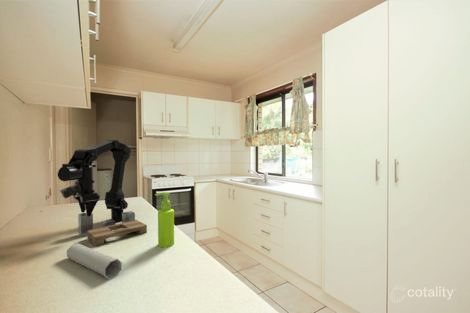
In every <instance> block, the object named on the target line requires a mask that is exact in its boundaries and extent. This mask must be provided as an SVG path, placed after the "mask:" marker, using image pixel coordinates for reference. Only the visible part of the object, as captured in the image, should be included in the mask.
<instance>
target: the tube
mask: <svg viewBox="0 0 470 313" xmlns="http://www.w3.org/2000/svg"><path fill="white" fill-rule="evenodd" d="M66 257H67V258H68V259H69V260H71V261H73V262H76V263H77V264H79V265H81V266H83V267H85V268H87V269H89V270H91V271H92V272H95V273H97V274H98V275H101V276H103V277H104V278H106V279H107V280H110V279H112V278H114V277H117V276H118V275H119V274H120V272H121V271H122V270H123V264H122V263H123V262H122V261H121V260H120V259H119V258H118V257H112V256H110V255H107V254H104V253H102V252H100V251H97V250H95V249H92V248H91V247H88V246H86V245H84V244H83V245H82V244H80V243H75V244H72V245H70V246H69V248H68V249H67V250H66Z"/></svg>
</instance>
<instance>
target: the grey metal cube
mask: <svg viewBox="0 0 470 313" xmlns="http://www.w3.org/2000/svg"><path fill="white" fill-rule="evenodd" d="M109 219H110V220H109ZM109 219H106V220H101V227H106V226H110V225H115V224H116V222H115V221H114V220H113V219H111V218H109Z"/></svg>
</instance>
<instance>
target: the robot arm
mask: <svg viewBox="0 0 470 313" xmlns="http://www.w3.org/2000/svg"><path fill="white" fill-rule="evenodd" d="M106 152H110V153H111V154H112V159H113V160H114V165H113V173H112V180H111V186H110V189H109V191H106V192H105V193H104V194H105V197H104V204H105V208H106V210H110V212H111V213H110V214H111V215H110V218H109V219H108V220H110V219H113V220H114V221H115V223H118V222H122V213H124V210H126V209H127V208H128V205H129V203H128V202H127V201H126V199H125V194H124V191H123V182H124V174H125V166H126V163H127V162H128V160H129V159H130V156H131V152H132V151H131V148H130V147H129V146H127V145H126V144H124V143H122V142H120V141H119V140H117V139H106V140H105V141H104V142H103V141H102V142H101V143H99V144H96V145H93V146H91V147H85V148H78V149H75V150H74V152H73V155H72V156H71V157H70V159H69V161H68V162H67V163H61V164H62V165H61V167H60V168H59V169H58V172H57V177H58V179H59V180H60V181H61V182H70V181H75V182H74V184H73V185H70V186H68V187H65V188H62V189H60V190H59V191H60V194H61V195H62V198H64V199H67V198H71V197H72V198H74V199H75V201H77V203H78V205H79V209H80V211H81V213H87V216H91V214H93V211H94V209H95V207H96V205H97V203H98V202H99V200H100V199H101V195H100V193H98V192H96V191H95V189H94V183H95V180H94V176H93V175H94V171H93V168H96V167H97V165H96V163H94V162H95V161H96V160H97V159H98V157H99V156H100V155H102V154H105V153H106Z"/></svg>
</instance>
